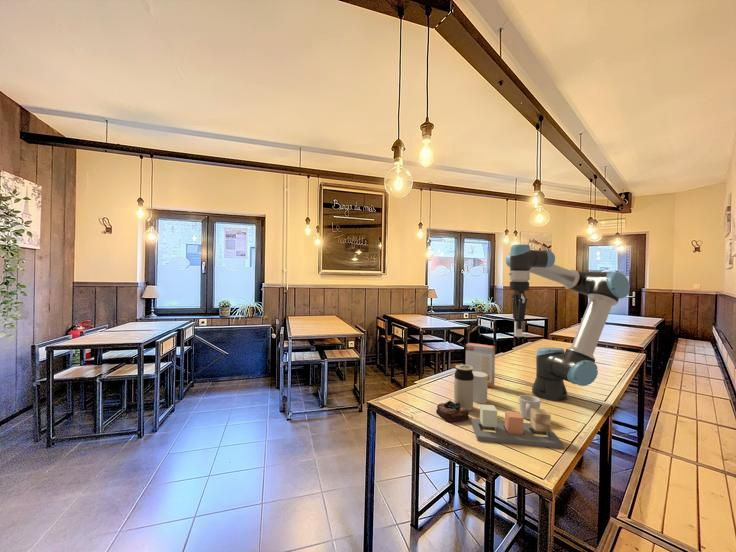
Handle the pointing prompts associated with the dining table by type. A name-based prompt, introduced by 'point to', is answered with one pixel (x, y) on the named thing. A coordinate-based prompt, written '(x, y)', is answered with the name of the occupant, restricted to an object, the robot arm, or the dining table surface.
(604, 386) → the dining table surface
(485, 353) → the cracker box
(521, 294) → the robot arm
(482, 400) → the white cylindrical canister
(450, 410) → the pastry
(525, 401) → the cup
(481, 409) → the sage block
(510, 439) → the board
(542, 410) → the oak block
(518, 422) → the terracotta block
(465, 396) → the travel mug
